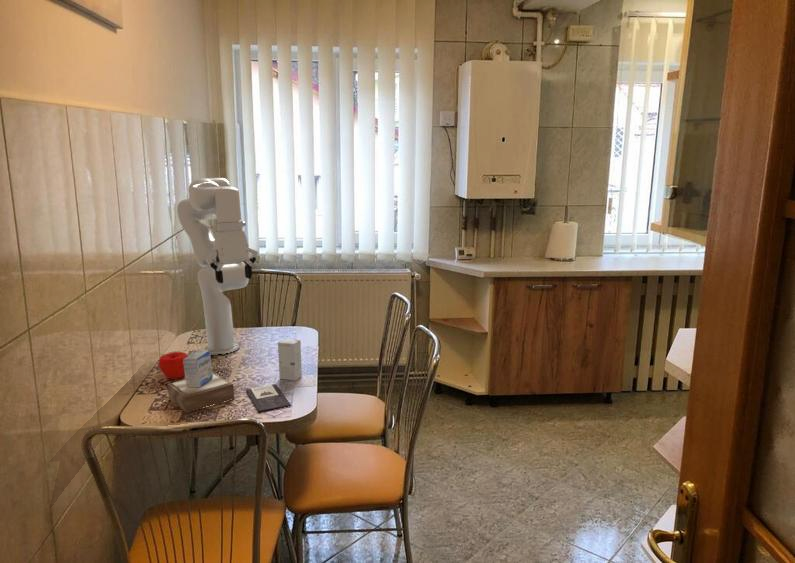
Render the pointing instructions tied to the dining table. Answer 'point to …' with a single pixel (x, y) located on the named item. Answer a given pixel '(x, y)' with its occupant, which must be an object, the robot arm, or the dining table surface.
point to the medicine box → (198, 369)
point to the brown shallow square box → (200, 393)
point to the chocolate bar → (268, 398)
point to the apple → (172, 365)
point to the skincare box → (289, 359)
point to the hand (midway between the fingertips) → (234, 280)
